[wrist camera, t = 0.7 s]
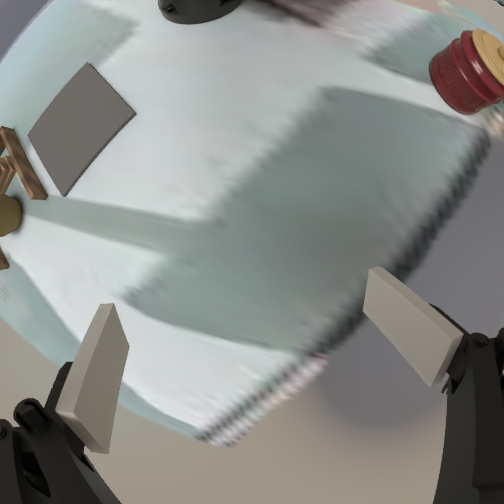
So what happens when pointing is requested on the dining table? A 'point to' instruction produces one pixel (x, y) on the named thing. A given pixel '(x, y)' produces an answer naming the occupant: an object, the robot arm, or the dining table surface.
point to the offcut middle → (5, 168)
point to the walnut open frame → (20, 172)
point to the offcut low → (11, 174)
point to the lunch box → (500, 2)
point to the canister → (470, 72)
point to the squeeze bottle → (9, 214)
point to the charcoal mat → (78, 126)
